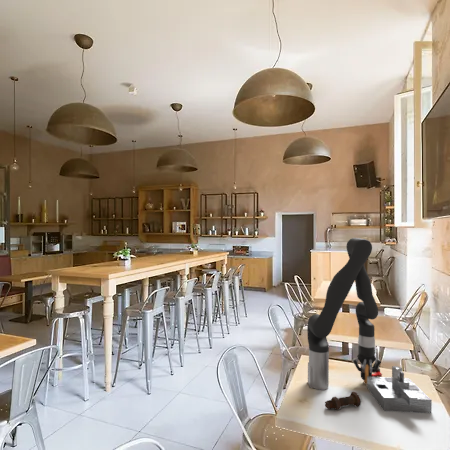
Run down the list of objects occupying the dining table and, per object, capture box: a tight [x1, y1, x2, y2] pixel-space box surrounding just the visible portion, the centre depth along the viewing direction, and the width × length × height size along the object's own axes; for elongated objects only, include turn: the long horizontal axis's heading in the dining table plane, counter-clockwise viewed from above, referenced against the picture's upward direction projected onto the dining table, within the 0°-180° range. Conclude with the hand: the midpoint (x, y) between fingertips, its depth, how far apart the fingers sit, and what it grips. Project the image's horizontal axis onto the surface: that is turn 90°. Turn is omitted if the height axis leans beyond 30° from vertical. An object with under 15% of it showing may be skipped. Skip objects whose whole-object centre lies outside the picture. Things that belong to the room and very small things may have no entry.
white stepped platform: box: [366, 365, 433, 414], centre depth 141 cm, size 19×24×14 cm
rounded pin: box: [363, 365, 369, 385], centre depth 159 cm, size 2×2×10 cm
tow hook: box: [372, 347, 383, 377], centre depth 170 cm, size 8×13×9 cm
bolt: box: [324, 391, 362, 411], centre depth 137 cm, size 6×5×15 cm
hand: (366, 379), depth 159 cm, fingers closed on rounded pin, 2 cm apart
